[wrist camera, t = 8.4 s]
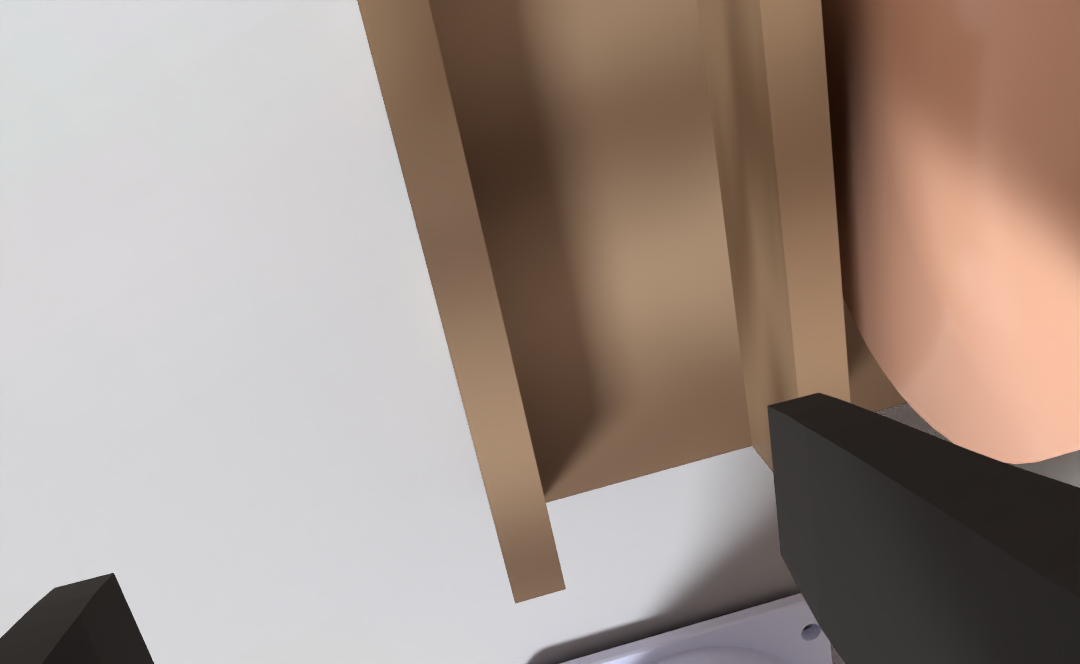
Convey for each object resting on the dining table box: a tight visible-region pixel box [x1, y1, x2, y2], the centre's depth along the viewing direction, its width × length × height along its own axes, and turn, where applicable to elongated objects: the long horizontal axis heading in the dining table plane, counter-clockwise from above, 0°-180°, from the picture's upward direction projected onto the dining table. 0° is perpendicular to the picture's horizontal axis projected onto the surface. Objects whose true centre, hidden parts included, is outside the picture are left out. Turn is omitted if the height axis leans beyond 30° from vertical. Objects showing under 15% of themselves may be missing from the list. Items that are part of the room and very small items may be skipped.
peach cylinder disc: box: [821, 0, 1080, 464], centre depth 15 cm, size 9×4×9 cm, turn 12°
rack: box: [357, 0, 908, 603], centre depth 18 cm, size 14×19×4 cm
